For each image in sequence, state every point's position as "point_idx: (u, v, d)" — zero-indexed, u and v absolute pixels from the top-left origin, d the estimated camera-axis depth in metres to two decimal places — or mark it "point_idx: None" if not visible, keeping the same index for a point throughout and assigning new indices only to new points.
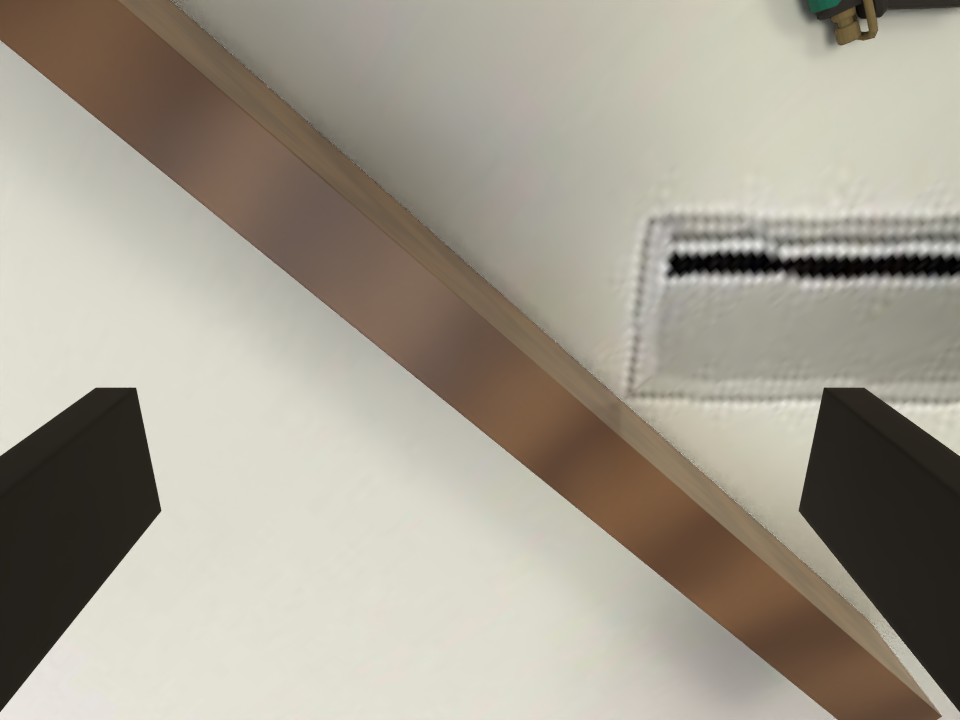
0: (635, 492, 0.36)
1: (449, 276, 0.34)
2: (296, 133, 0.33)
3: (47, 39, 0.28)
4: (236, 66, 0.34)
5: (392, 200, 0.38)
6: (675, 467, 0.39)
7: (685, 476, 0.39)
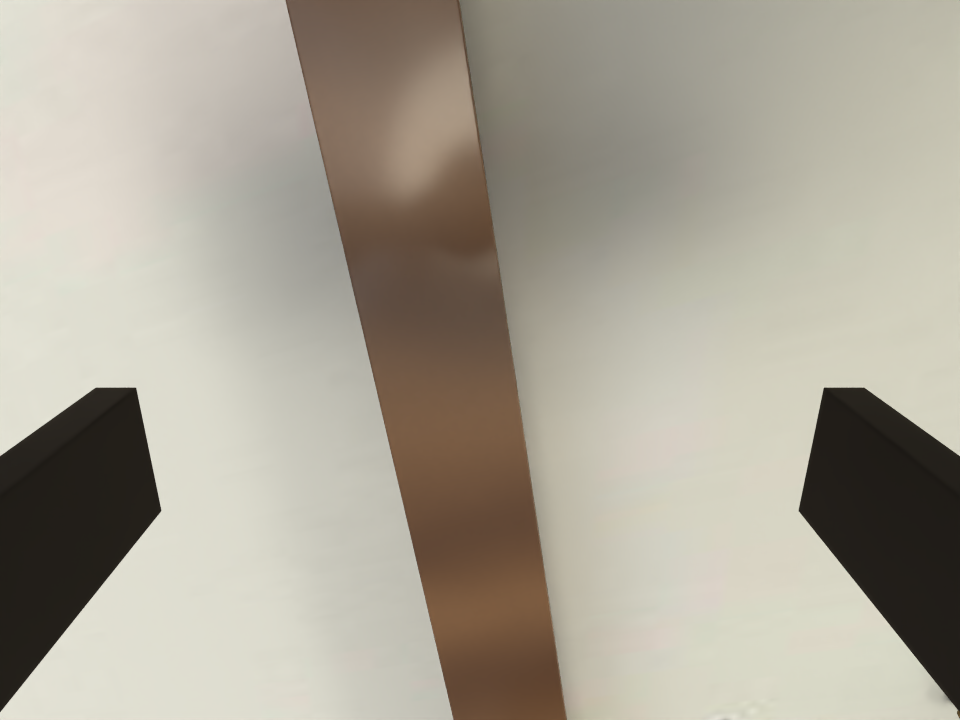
0: None
1: None
2: None
3: (419, 398, 0.22)
4: None
5: None
6: None
7: None
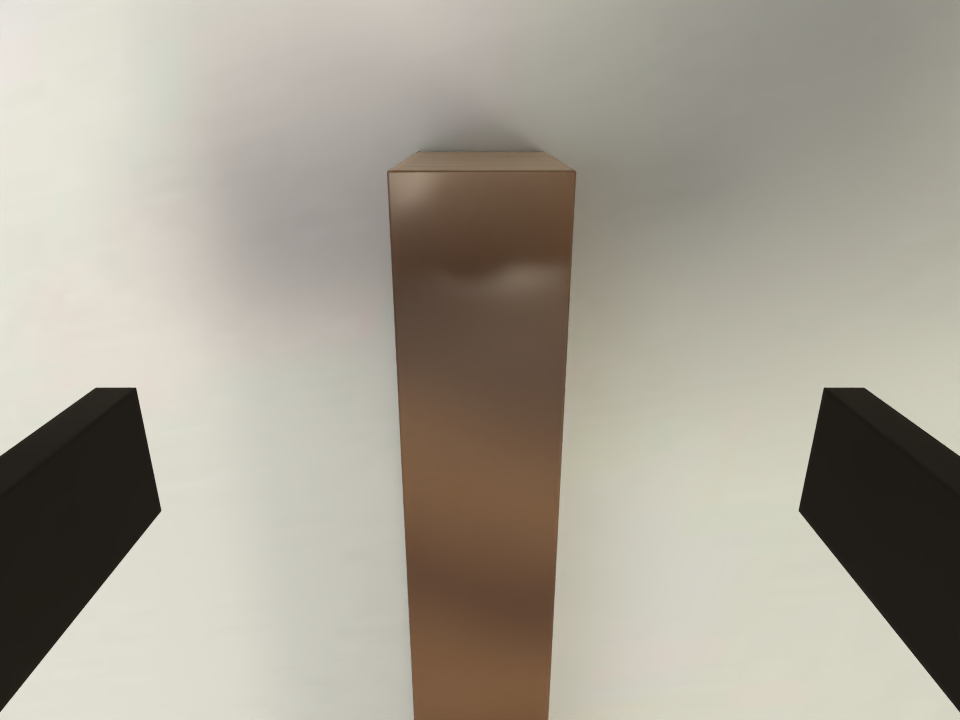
0: None
1: None
2: None
3: (452, 667, 0.22)
4: None
5: None
6: None
7: None
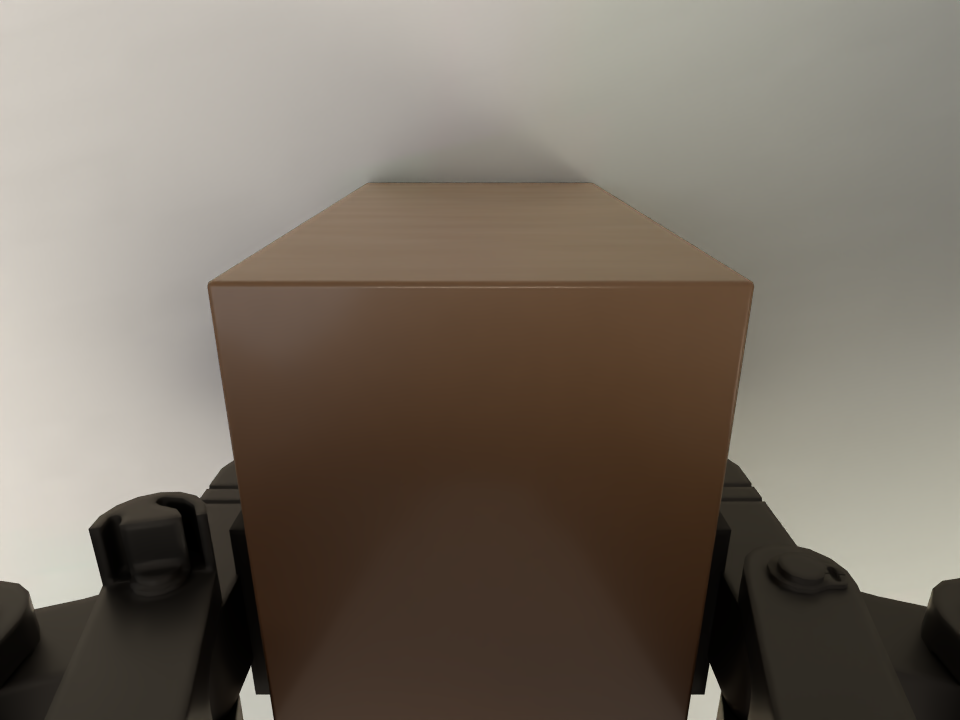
0: None
1: None
2: None
3: None
4: None
5: None
6: None
7: None
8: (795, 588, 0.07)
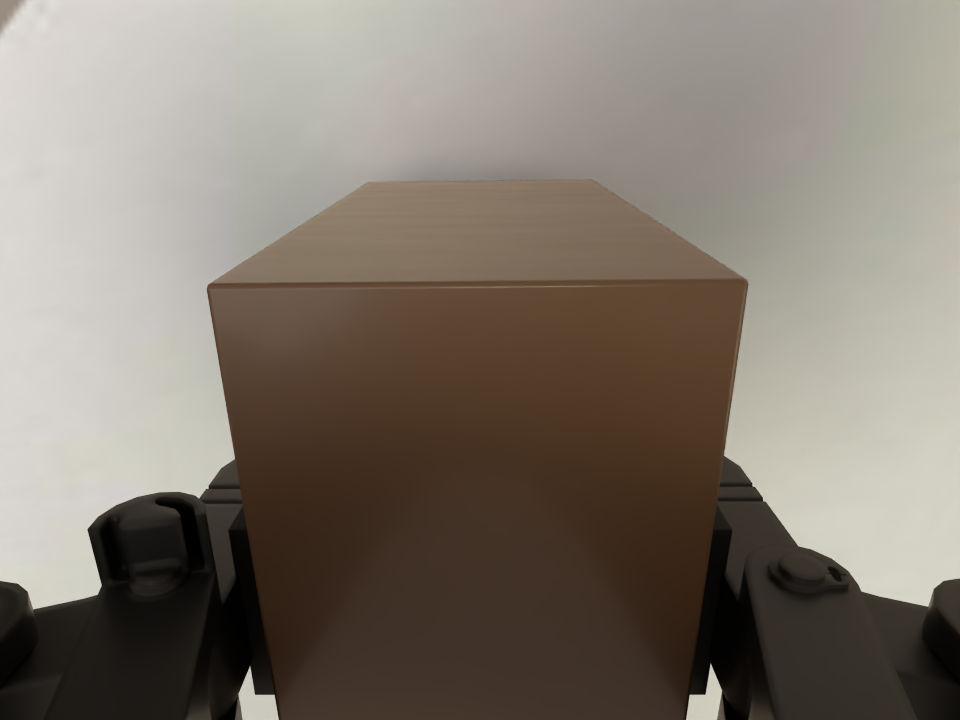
0: None
1: None
2: None
3: None
4: None
5: None
6: None
7: None
8: (796, 588, 0.07)
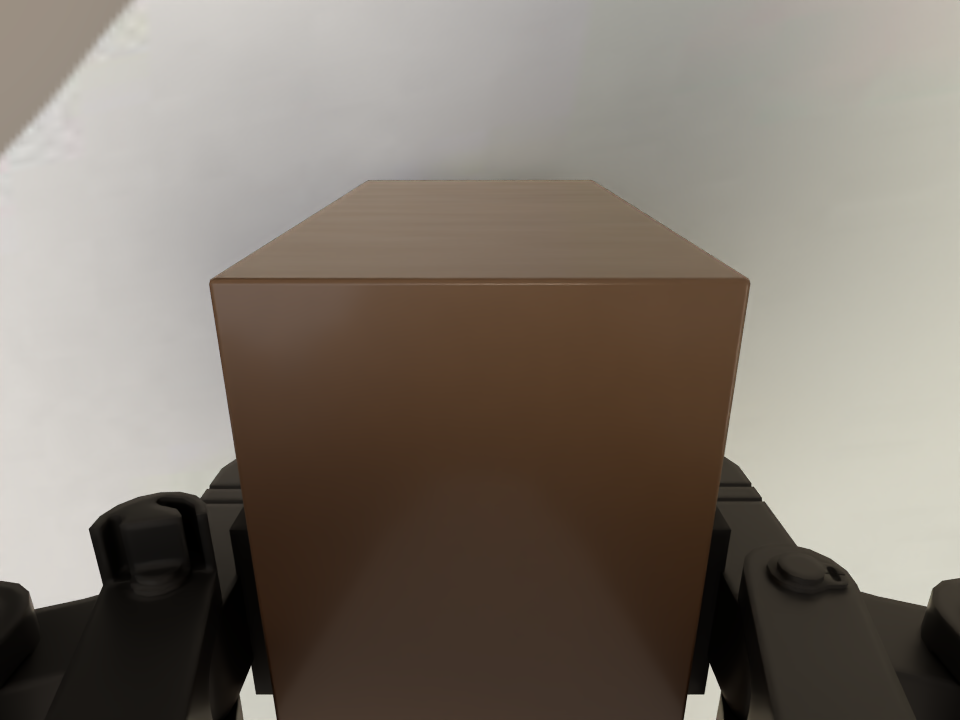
0: None
1: None
2: None
3: None
4: None
5: None
6: None
7: None
8: (795, 588, 0.07)
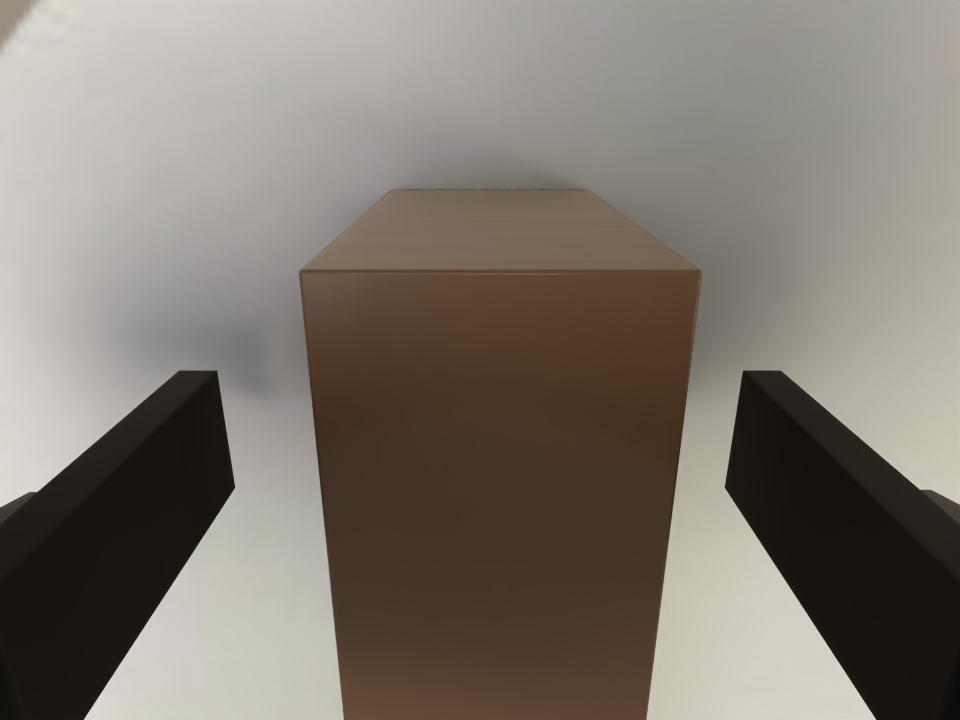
0: None
1: None
2: None
3: None
4: None
5: None
6: None
7: None
8: None
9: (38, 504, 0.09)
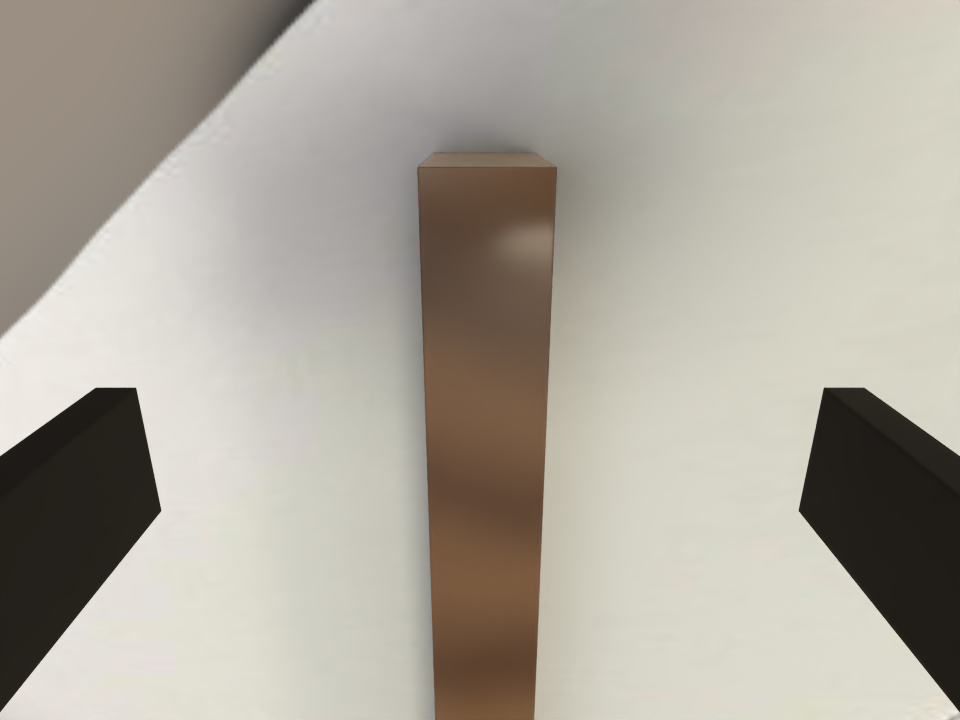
0: None
1: None
2: None
3: (462, 561, 0.28)
4: None
5: None
6: None
7: None
8: None
9: None
